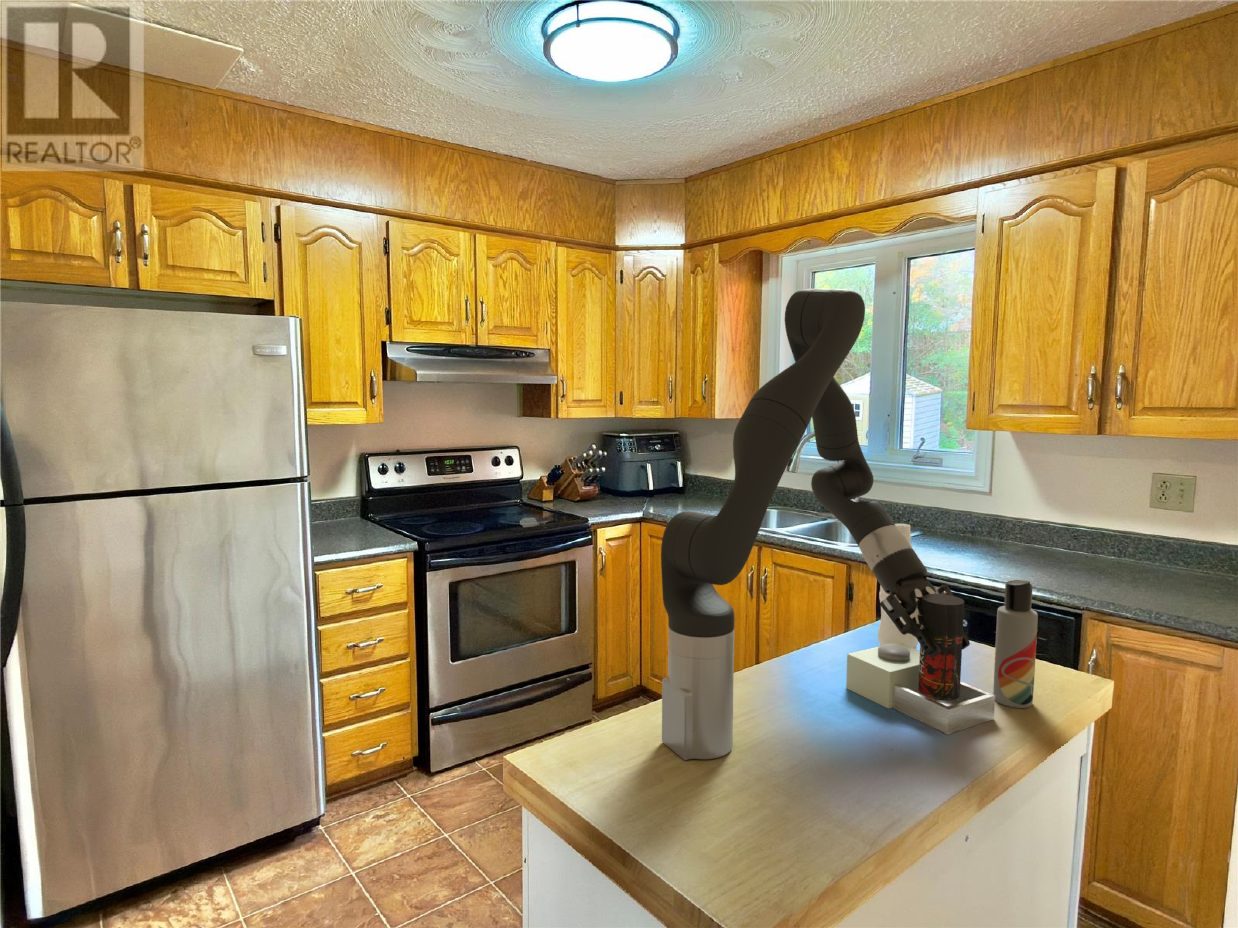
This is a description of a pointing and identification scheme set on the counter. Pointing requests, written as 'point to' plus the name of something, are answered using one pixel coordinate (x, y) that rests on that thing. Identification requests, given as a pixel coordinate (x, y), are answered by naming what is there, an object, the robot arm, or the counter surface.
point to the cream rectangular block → (883, 671)
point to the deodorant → (942, 647)
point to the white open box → (946, 708)
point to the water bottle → (887, 628)
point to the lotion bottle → (1015, 647)
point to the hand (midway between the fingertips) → (950, 650)
